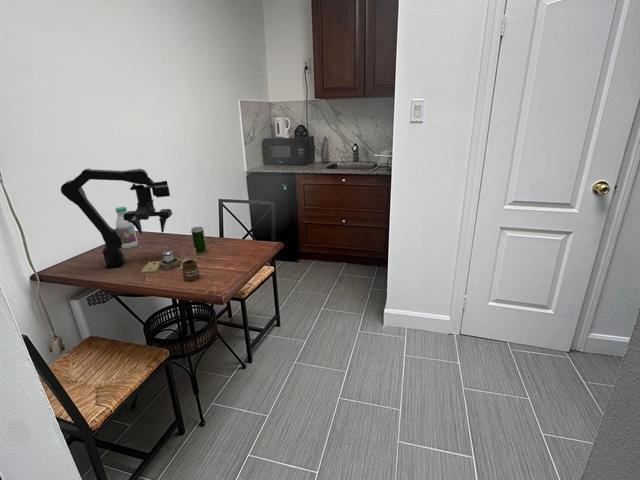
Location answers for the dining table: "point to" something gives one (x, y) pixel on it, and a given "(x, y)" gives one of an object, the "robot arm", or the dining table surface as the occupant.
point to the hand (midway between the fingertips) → (152, 233)
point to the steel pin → (168, 256)
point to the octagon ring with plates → (164, 265)
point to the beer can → (199, 240)
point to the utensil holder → (190, 269)
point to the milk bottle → (126, 229)
